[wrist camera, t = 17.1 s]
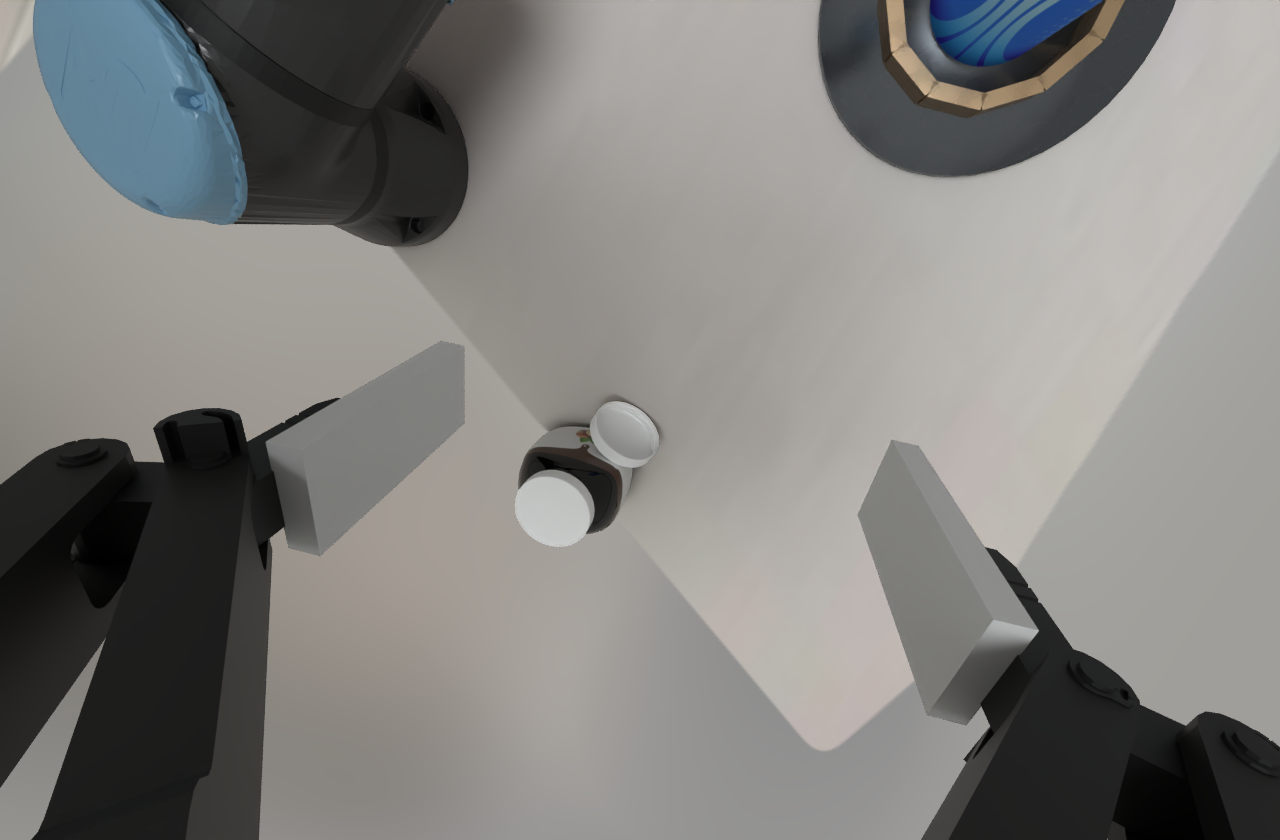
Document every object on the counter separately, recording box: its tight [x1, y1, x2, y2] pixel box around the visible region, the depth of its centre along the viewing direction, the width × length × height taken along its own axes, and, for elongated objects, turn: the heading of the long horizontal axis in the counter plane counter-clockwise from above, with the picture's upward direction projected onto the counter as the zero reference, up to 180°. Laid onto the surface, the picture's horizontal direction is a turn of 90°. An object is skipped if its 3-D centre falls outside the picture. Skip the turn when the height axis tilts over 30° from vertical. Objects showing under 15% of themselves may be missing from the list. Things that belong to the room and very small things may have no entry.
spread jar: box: [515, 401, 659, 547], centre depth 48 cm, size 12×11×12 cm
